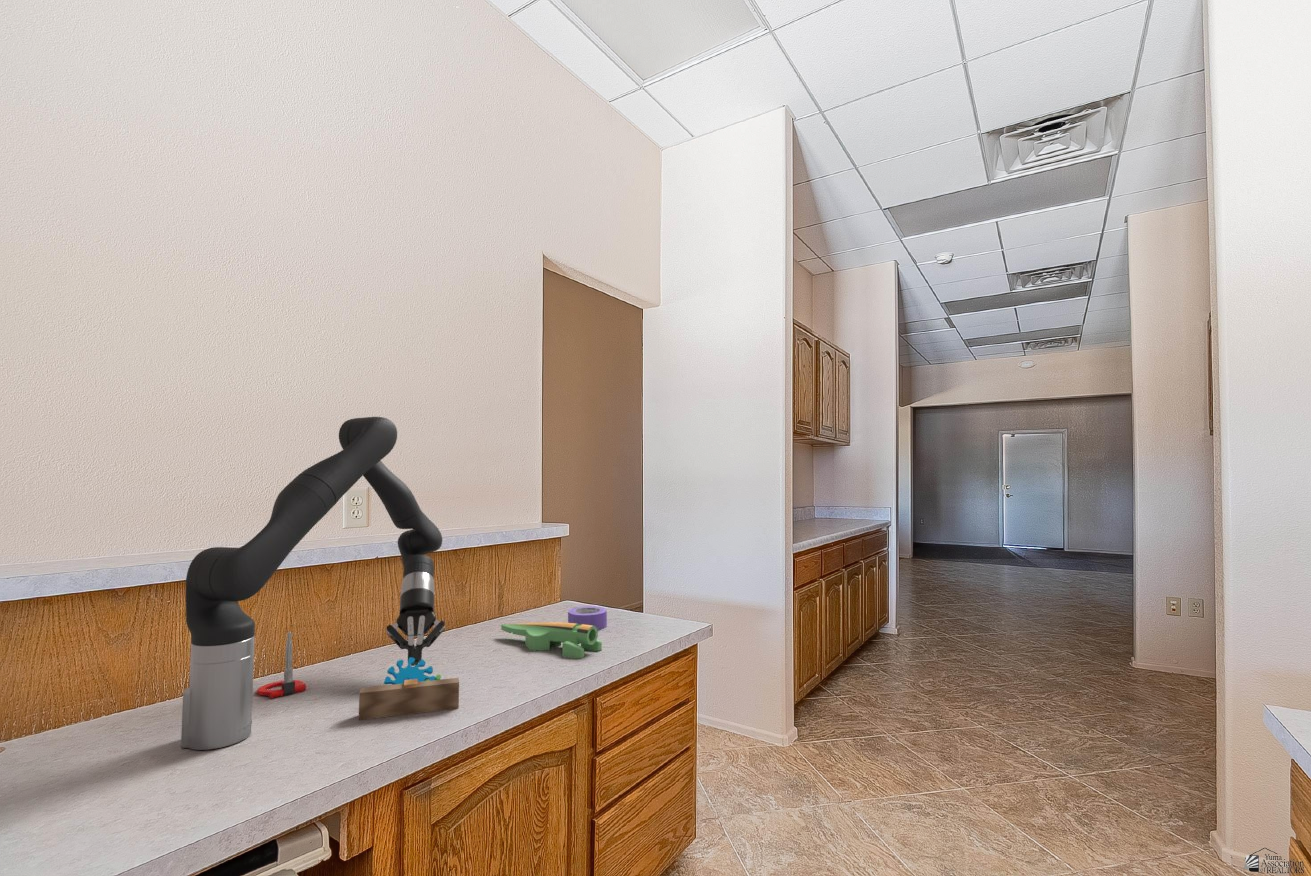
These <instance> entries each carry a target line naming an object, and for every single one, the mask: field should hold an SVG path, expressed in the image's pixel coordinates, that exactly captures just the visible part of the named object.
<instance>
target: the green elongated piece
mask: <svg viewBox="0 0 1311 876" xmlns="http://www.w3.org/2000/svg"><path fill="white" fill-rule="evenodd" d="M500 630H501V631H503V632H505V633H507V634H512V635H516V636H522V637H525V639H524V643H525V645H524V646H526V647H527V649H528V650H530V651H532V652H535V651H536V650H538V651H550V649H551V647H550V646H551V645H557V646H561V648H562V649H561V650H562V651H561V654H562V655H561V657H564V656H565V657H564V658H573V659H583V658H585V651H594V652H600V651H601V650H602V649H603V648H602V646H603V645H602V644H603V643H602V641H601V640H599V639H598V637H599V630H597V628H596V626H592V625H585V624H582V625H580V624H576V623H568V622H556V621H555V622H554V621H553V622H524V623H523V622H521V623H520V622H519V623H501V624H500ZM550 644H551V645H550Z"/></svg>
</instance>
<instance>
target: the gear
mask: <svg viewBox="0 0 1311 876" xmlns="http://www.w3.org/2000/svg"><path fill="white" fill-rule="evenodd" d="M414 661H415V658H412V657H409V659H408V658H407V666H406V667H403V665H404V659H398V660H397V661H396V663H395V664H396V666H397V668H398V672H395V670H396V669H395V667H394V666H392V665H391V666H390V667H389V668H388V669H387V674H388V675H391V676H393V677H394V680H393V679H392V678H391V677H390V676H385V678H384V681H383V684H384V685H394V684H403V683H404V681H405V680H410V679H418V682H422V681H432V680H441V678H442V675H441V674H439V673H438V674H436V675H431V674H432V673H433V671H434V669H433V666H428V667H426V668H423V667H425V666H426V663H427V662H426V661H425V660H424V659H423V658H422V660H420V662H419V663H418V664H417V665H416V666H415V665H414V666H411V664H413V663H414ZM420 668H422V669H420ZM425 673H426V674H428V675H429V676H428V675H425ZM430 675H431V676H430Z"/></svg>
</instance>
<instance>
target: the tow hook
mask: <svg viewBox="0 0 1311 876" xmlns="http://www.w3.org/2000/svg"><path fill="white" fill-rule="evenodd" d="M284 664H285V666H284V667H285V668H284V670H283V680H280V681H275V682H270V683H267V684H264V685H261V686H259V687H258V688H257V689H256V693H257V695H260V696H268V697H269V698H270V699H275V697H276V698H279V696H280V697H286V696H289V694H290V695H293V693H294V694H295V693H299V692H303V691H304V692H305V691H306V690H307V684H306V683H304V682H303V681H302V680H299V679H293V675H294V671H293V670H294V668H293V641H292V631H287V633H286V642H285V663H284ZM277 686H278V687H281V688H280V689H273V687H274V688H277ZM267 689H268V690H267ZM285 695H286V696H285Z"/></svg>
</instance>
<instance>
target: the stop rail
mask: <svg viewBox="0 0 1311 876" xmlns="http://www.w3.org/2000/svg"><path fill="white" fill-rule="evenodd" d="M358 697H359V698H358V700H359V701H358V721H364V720H370V719H379V718H387V717H396V716H397V717H398V716H403V715H411V714H413V715H414V714H420V713H428V712H437V711H446V710H447V711H448V710H455V709H460V707H459V706H460V703H459V702H460V699H459V698H460V679H459V677H452V678H443V679H441V678H440V680H432V681H422V682H418V679H410V680H405V681H404V683H403V684H394V685H393V684H384V685H377V686H367V687H365V686H364V687H361V688H360V690H359V696H358Z"/></svg>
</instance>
